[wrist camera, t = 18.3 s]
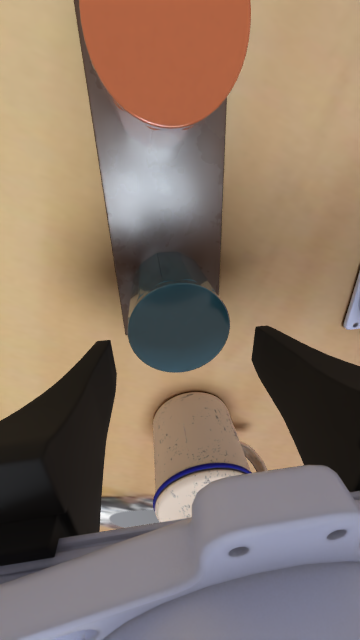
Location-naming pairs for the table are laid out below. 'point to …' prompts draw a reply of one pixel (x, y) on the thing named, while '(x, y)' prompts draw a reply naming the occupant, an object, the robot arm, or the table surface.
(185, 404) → the speckled cream mug
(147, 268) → the teal cup
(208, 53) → the terracotta cup
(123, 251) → the cup stand
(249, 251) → the table surface
